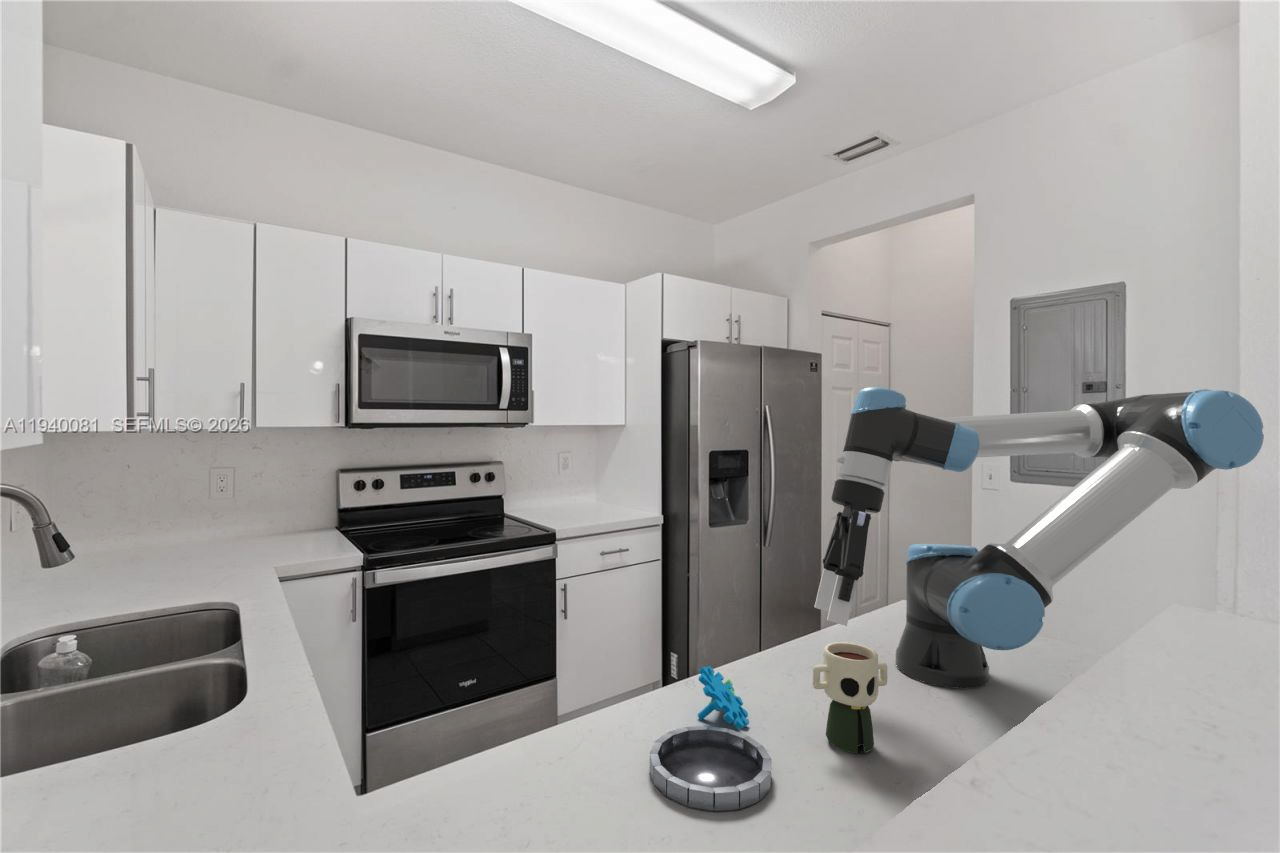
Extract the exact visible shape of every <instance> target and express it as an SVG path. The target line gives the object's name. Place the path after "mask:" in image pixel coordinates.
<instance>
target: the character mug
mask: <svg viewBox="0 0 1280 853" xmlns="http://www.w3.org/2000/svg"><path fill="white" fill-rule="evenodd" d="M888 669H889V668H888V665H887V663H886V662H884V661H879V654H878V653H877V651H875V649H873V648H870V646H869V647H868V646H865V645H863V644H860V643H859V644H858V643H853V642H844V641H843V642H841V641H838V642H830V643H828V644H826V645H825V646H824V648H823V664H815V665H814V666H813V668H812V686H813V689H815V690H823V692H824V693H825V694H826V696H827V697H828V698H830V699H831V702H830V703H829V707H828V708H829V709H828V715H827V719H826V720H827V721H826V729H825V737H826V739H827V741H828V742H829V743H830V744H831V745H832V746H833V747H835V748H836V749H838V750H841V751H843V752H848V753H853V754H858V752H859V747H860V746H863V752H864V753H868V752H870V751H872V750H873V749H874V745H875V738H874V727H873V720H872V713H871V708H870V707H869V706H871V705H873V703H875V702H876V701H877V698H878V695H879V687H884V686H887V684H888ZM821 673H823V681H821Z"/></svg>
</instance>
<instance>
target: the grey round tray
mask: <svg viewBox="0 0 1280 853" xmlns="http://www.w3.org/2000/svg"><path fill="white" fill-rule="evenodd" d="M772 764H773V763H772V757H771V756H770V754H769V753H768V750H766V748H765V746H763V745H762V744H761V743H759V742H758V741H757V740H755V739H753V738H752V737H750V736H749V735H747V734H744V733H742V732H738V731H736V730H734V729H730V728H724V727H720V726H719V727H718V726H712V725H695V726H684V727H681V728H676V729H674V730H671V731H668V732H666V733H664V734H663V735H662V736H660V737H659V738H657V739H656V740H654V742H653V745H652V747H651V749H650V751H649V769H648V770H649V773H650V779H651V781H652V783H653V785H654V786H655V787H656V789H657V790H658V792H660V793H661V794H663V796H665V797H666V798H668V799H669V800H670V801H672V802H674V803H676V804H679V805H681V806H684V807H687V808H689V809H693V810H698V811H703V812H710V813H711V812H713V813H728V812H735V811H739V810H744V809H746V808H750V807H752V806H754V805H756V804H757V803H759V802H761V801H762V800H763V799H764V798H765V797H766V796H767V795H768V793H769V791H770V790H771V787H772V786H771V784H772Z"/></svg>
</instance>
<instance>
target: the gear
mask: <svg viewBox="0 0 1280 853" xmlns="http://www.w3.org/2000/svg"><path fill="white" fill-rule="evenodd" d="M698 672H699V674H700V675H699V676H698V681H699V682H700V683H701V684H702V685H703V686H704V687H702V691H703V693H704V695H705V696H706V697H708V698H709V697H710V698H711V699H710V702H708V704H707V705H706V706H705V707H704V708H702V710H701V711H699V712H698V713H697V718H698V719H699V720H700V721H703V720H705V718H706V717H707V716H709V715H710V714H711V713H713V711H716V712H719V711H720V710H723V712H724V713H725V714H723V716H722V717H723V719H724V720H725V721H726V722H727V723H728V724H729V725H730V724H731V723H733V726H734V727H735V729H738V730H741V729H742V728H746V727H747V726H748V725H749V724H750V722H749V720H748V719H747V718H748V717H749V713H748V711H747V710H746V709H745V708H744V707H742V706H744V702H743V699H742V698H741V697H740V696H737V695H736V694H735V688H734V686H733V685H734V684H733V682H732V680H731V679H727V680H726V681H724V682H723V680H724V679H725V678H724V676H723V675H722V673H720V672H719V671H718V672H716V673H715V670H714V668H713V667H711V666H709V665H707V667H706V666H703V667H701V668H700V669H699V670H698Z"/></svg>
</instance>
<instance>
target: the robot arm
mask: <svg viewBox="0 0 1280 853" xmlns="http://www.w3.org/2000/svg"><path fill="white" fill-rule="evenodd" d="M906 399H907V398H906V396H905V395H904V394H903V393H900V392H899V391H896V390H894V389H890V388H886V387H879V386H872V387H871V386H870V387H869V386H868V387H865V388H863V389H861V390H859V391H858V393H857V396H856V398H855V402H854V403H853V404H854V405H853V408H852V411H851V413H850V420H849V424H848V429H847V434H846V436H845V437H846V438H845V441H844V442H845V443H844V445H843V446H844V447H843V451H842V454H841V456H842V457H841V456H838V457H837V458H836V462H837V463H838V464H840V465H839V466H838V467H839V468H838V471H837V476H838V477H839V478H838V479H837V480H835V481H834V486H833V491H832V493H831V500H832V502H833V503H835V504H837V505H841V506H843V510H842V512H841V511H838V512H837V513H836V518H835V524H834V526H833V530H832V533H831V535H830V539H829V542H828V546H827V548H826V551H825V555H824V558H823V559H822V564H823V570H822V574H821V578H820V582H819V585H818V590H817V594H816V599H815V603H814V605H813V606H814V608H815V609H818V610H821V611H824V612H827V617H826V620H827V621H829V622H832V623H835V624H839V625H842V626H845V627H847V626H848V623H849V617H850V614H851V610H852V605H853V600H854V598H855V593H856V590H857V584H858V580H859V579H860V578H862V577H863V575H864V566H865V560H866V559H865V558H866V551H867V543H868V541H867V540H868V533H869V527H870V521H871V519H872V515H871V513H872V514H878V513H880V512H881V510H882V506H883V502H884V496H885V494H886V493H885V492H884V490H883V488H885V487H887V486H888V481H889V478H890V472H891V469H892V465H893V461H894V462H907V463H908V462H909V463H914V464H919V465H927V466H931V467H936V468H940V469H942V471H943V470H944V471H947V470H948V471H952V472H956V473H962V472H964V471H967V470H968V469H969V468H970V467H971V466H972V465H973V464H974V462H975V461H976V459H977V458H992V457H993V458H995V457H1013V456H1016V457H1017V456H1033V455H1036V456H1037V455H1056V454H1057V455H1058V454H1074V455H1076V456H1077V457H1079V458H1084V459H1087V458H1105V461H1103V462H1102V463H1101V464H1099V466H1097V467H1096V468H1095V469H1094V470H1093V471H1092V472H1090V473H1089V474H1088V475H1087V476H1085V477H1084V478H1083V479H1082V480H1080V481H1079V482H1078V483H1077V484H1075V485H1074V486H1073V487H1072V488H1071V489H1069V490H1068V491H1067V492H1066V493H1065V494H1063V495H1062V496H1061V497H1060V498H1059V499H1058V500H1057V501H1055V502H1054V503H1053V504H1052V505H1050V506H1049V507H1048V508H1047V509H1045V510H1044V511H1043V512H1042V513H1040V515H1038V516H1037V517H1036V518H1035V519H1033V520H1032V521H1031V522H1029V523H1028V524H1027V525H1026V526H1025V527H1024V528H1022V529H1021V530H1020V531H1019V532H1018V533H1016V535H1014V536H1013V537H1012V538H1010V539H1009V540H1008V541H1007V542H1006V543H991V542H990V543H988V544H986V545H985V546H984V547H983V548H982V549H980V550H979V549H978V548H977V547H976V546H972V545H960V544H947V543H946V544H945V543H938V544H937V543H913V544H911V545H910V546H909V547H908V549H907V556H906V561H905V565H906V607H905V608H906V616H905V617H906V619H905V622H906V623H905V627H904V629H903V631H902V633H901V636H900V639H899V643H898V646H897V647H896V649H895V650H896V651H895V666H896V665H897V666H896V668H897V667H898V668H899V669H900V670H901V671H900V670H899V669H898V668H897V669H898V670H899V671H900V672H901V673H903V674H904V673H905V675H906V674H907V675H906V676H908V677H910V676H911V677H910V678H912V677H913V679H915V680H917V679H918V681H920V680H921V681H920V682H923V681H924V682H923V683H926V684H930V685H934V684H935V685H934V686H939V687H944V688H951V689H975V688H976V689H977V688H980V687H984V686H986V685H987V684H988V683H989V680H990V666H989V663H988V661H987V657H986V655H985V652H984V648H985V649H986V648H987V649H989V650H994V651H1010V650H1011V651H1012V650H1014V649H1019V648H1021V647H1024V646H1025V645H1028V644H1029V643H1030V642H1031V641H1033V640H1034V639H1036V637H1037V635H1038V634H1039V633H1040V632H1041V630H1042V628H1043V626H1044V622H1043V618H1044V617H1045V615H1046V611H1045V608H1046V607H1048V606H1049V605H1051V603H1052V602H1053V601H1054V593H1053V592H1054V591H1053V587H1054V586H1055V585H1056V584H1058V583H1059V581H1061V580H1062V579H1064V578H1065V577H1066V576H1068V574H1070V572H1072V571H1073V570H1074V569H1075V568H1076V567H1078V566H1079V565H1080V564H1082V563H1083V562H1084V561H1085V560H1087V559H1088V558H1089V557H1090V556H1091V555H1092V554H1093V553H1095V552H1096V551H1097V550H1099V549H1100V548H1101V547H1102V546H1104V545H1105V544H1106V543H1107V542H1108V541H1110V540H1111V539H1112V538H1113V537H1114V536H1116V535H1117V534H1118V533H1120V532H1121V531H1122V530H1123V529H1124V528H1126V527H1127V526H1128V525H1129V524H1131V522H1133V521H1134V520H1135V519H1137V518H1138V517H1139V516H1141V514H1142V513H1144V512H1145V511H1146V510H1148V509H1149V508H1150V507H1151V506H1153V504H1155V503H1156V502H1157V501H1158V500H1160V499H1161V498H1162V497H1163V496H1165V495H1166V494H1167V493H1168V492H1170V491H1171V490H1172V489H1178V490H1179V489H1180V490H1186V489H1187V490H1188V489H1192V488H1193V487H1194V486H1196V485H1197V484H1198V483H1199V482H1200V481H1202V480H1203V479H1204V478H1205V477H1207V476H1208V475H1209V474H1210V473H1211V472H1213V471H1214V470H1217V469H1218V470H1225V471H1226V470H1232V469H1236V468H1240V467H1243V466H1246V465H1248V464H1249V463H1251V462H1252V461H1253V460H1254V459H1255V458H1256V457H1257V456H1258V454H1259V453H1260V452H1261V449H1262V447H1263V442H1264V439H1265V438H1264V437H1265V435H1264V432H1263V429H1264V422H1263V420H1262V418H1261V415H1260V414H1259V412H1258V410H1257V408H1256V406H1254V405H1253V404H1252V403H1251V402H1250V401H1249V400H1247V398H1245V397H1243V396H1241V395H1240V394H1238V393H1235V392H1232V391H1227V390H1221V389H1220V390H1212V389H1197V390H1195V391H1185V392H1170V393H1169V392H1167V393H1157V394H1156V393H1154V394H1142V395H1135V396H1130V397H1125V398H1120V399H1115V400H1108V401H1103V402H1093V403H1081V404H1077V405H1075V406H1073V407H1072V408H1071V409H1070V410H1057V411H1042V412H1041V411H1039V412H1023V413H1021V412H1020V413H1005V414H986V415H971V416H970V415H968V416H952V417H948V416H947V417H933V416H929V415H925V414H922V413H918V412H915V411H912V410H910V409H907V408H906V406H907V405H906V402H907V400H906ZM985 684H986V685H985Z"/></svg>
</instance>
